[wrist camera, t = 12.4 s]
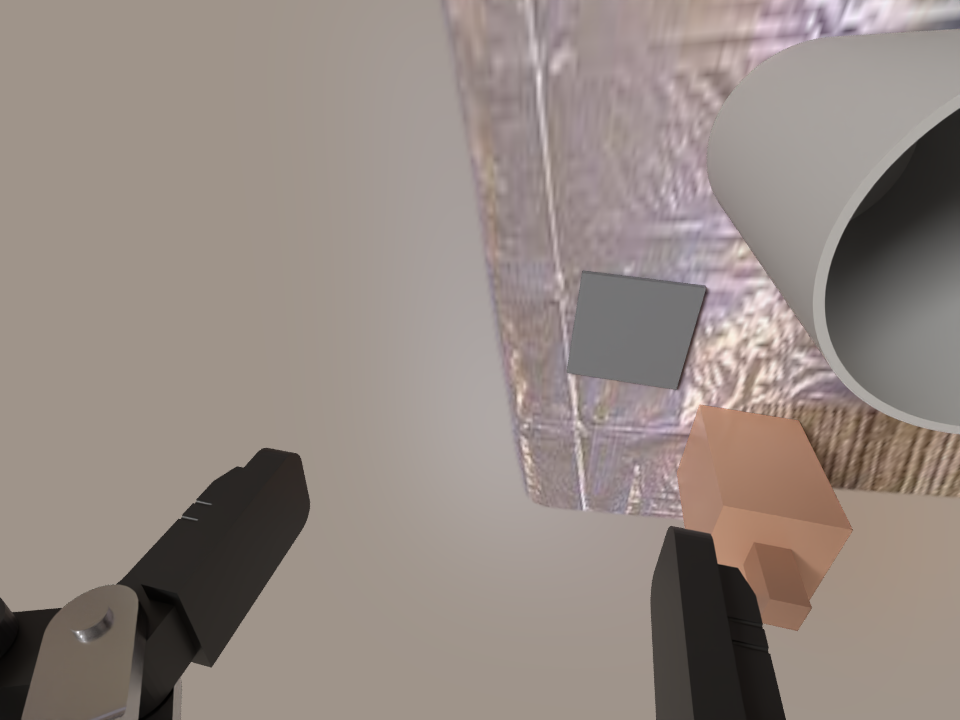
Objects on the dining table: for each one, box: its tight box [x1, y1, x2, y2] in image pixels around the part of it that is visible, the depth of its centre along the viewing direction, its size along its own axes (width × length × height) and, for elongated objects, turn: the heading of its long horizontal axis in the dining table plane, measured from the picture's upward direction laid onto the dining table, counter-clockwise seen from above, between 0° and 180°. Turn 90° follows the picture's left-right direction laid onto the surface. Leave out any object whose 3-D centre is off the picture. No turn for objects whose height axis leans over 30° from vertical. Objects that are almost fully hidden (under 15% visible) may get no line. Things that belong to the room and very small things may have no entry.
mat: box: [567, 271, 706, 390], centre depth 46 cm, size 10×10×1 cm
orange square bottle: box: [677, 405, 853, 631], centre depth 43 cm, size 9×9×18 cm
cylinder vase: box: [707, 29, 960, 434], centre depth 26 cm, size 12×12×25 cm
